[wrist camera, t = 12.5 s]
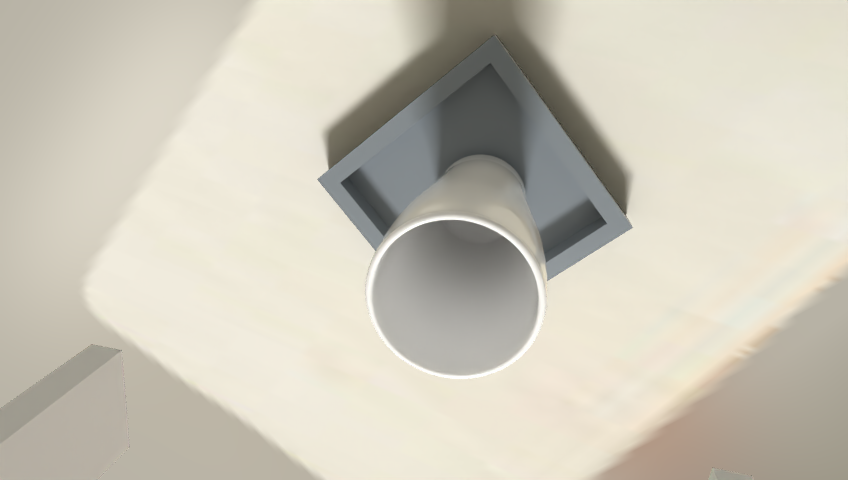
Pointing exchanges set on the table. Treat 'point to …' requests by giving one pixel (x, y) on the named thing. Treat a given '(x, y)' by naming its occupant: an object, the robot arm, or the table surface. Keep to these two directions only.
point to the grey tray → (480, 134)
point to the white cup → (461, 273)
